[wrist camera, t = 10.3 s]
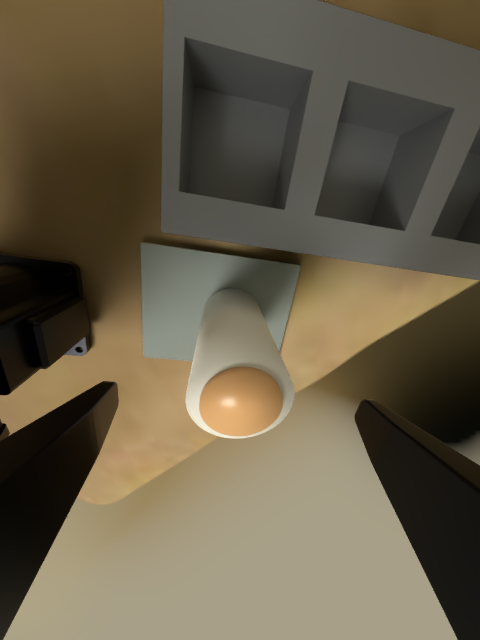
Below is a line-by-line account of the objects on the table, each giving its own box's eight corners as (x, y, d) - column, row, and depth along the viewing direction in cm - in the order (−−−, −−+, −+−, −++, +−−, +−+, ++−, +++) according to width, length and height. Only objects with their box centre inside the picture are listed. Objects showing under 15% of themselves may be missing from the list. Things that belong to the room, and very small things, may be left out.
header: (177, 229, 14) (161, 232, 10) (183, 47, 10) (163, -49, 7) (436, 269, 16) (500, 283, 12) (503, 130, 13) (617, 92, 9)
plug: (200, 338, 16) (181, 443, 8) (205, 284, 14) (188, 354, 7) (254, 343, 17) (283, 446, 9) (265, 292, 15) (310, 364, 7)
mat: (145, 353, 17) (143, 357, 16) (143, 241, 14) (140, 242, 13) (274, 364, 18) (275, 367, 18) (298, 264, 15) (301, 265, 14)
